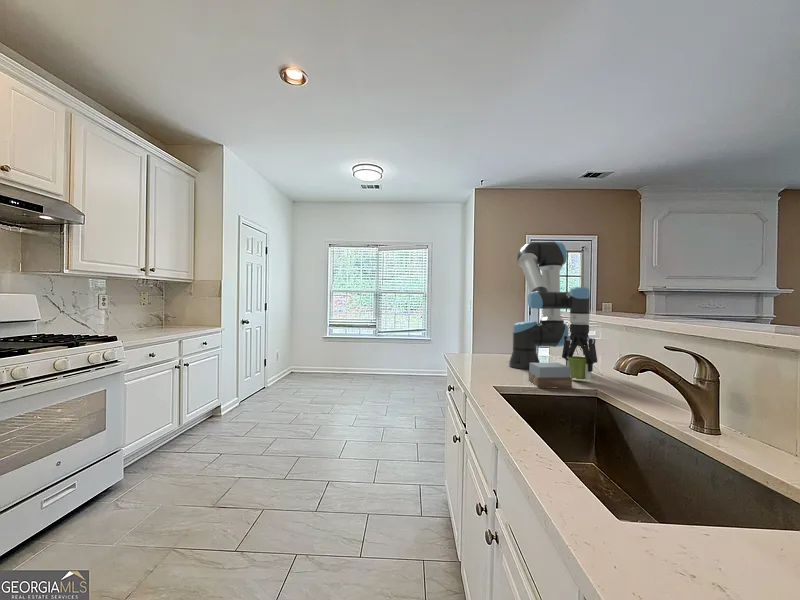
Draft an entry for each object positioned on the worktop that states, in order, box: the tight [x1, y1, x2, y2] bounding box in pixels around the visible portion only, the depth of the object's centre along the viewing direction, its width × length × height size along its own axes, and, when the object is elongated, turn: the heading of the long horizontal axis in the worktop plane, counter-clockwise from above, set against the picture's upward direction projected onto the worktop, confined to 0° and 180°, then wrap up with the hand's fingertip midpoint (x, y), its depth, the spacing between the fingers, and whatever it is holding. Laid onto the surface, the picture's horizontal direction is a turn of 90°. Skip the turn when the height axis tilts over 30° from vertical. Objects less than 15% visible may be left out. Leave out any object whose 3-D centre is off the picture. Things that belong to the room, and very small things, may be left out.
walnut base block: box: [528, 371, 573, 389], centre depth 167 cm, size 13×13×4 cm
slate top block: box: [528, 362, 571, 378], centre depth 167 cm, size 12×12×4 cm
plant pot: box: [567, 355, 587, 380], centre depth 175 cm, size 9×9×9 cm
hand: (578, 377), depth 175 cm, fingers closed on plant pot, 8 cm apart
